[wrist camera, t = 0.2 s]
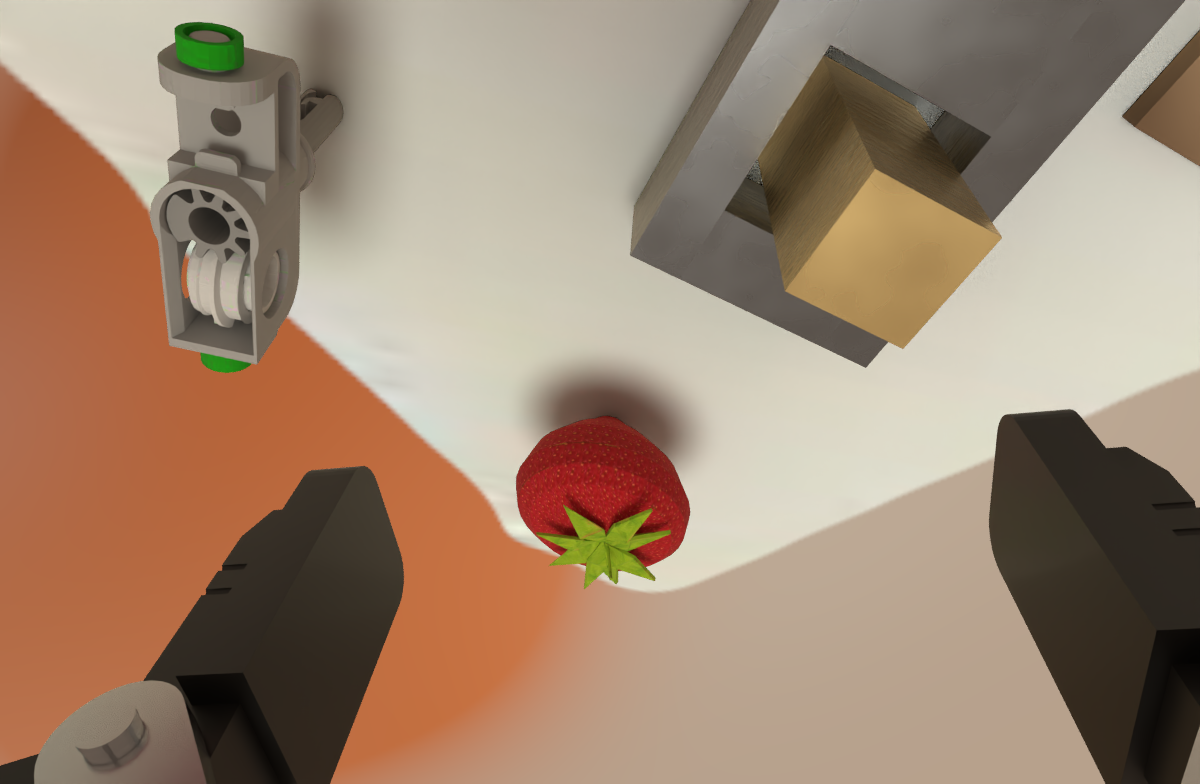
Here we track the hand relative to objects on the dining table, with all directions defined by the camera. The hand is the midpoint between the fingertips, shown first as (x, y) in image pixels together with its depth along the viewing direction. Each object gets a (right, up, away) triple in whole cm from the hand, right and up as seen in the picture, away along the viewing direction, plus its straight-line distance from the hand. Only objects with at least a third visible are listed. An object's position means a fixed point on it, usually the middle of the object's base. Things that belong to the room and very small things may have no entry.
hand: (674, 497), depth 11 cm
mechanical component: (-11, +12, +21) cm, 26 cm away
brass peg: (+7, +11, +20) cm, 24 cm away
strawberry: (0, 0, +29) cm, 29 cm away
